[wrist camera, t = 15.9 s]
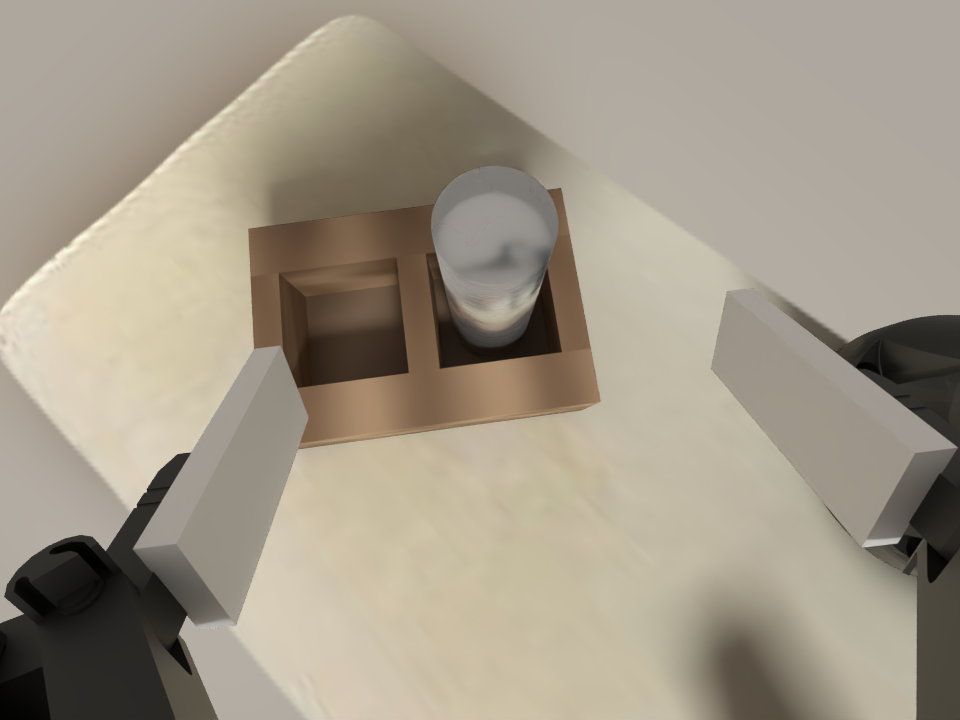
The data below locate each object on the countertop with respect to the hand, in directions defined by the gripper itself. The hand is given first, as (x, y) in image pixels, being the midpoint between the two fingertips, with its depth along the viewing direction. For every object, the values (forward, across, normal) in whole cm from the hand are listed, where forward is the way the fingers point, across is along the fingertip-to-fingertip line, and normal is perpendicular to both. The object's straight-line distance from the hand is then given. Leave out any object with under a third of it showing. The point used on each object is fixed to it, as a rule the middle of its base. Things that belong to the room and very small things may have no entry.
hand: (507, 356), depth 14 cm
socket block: (+14, -4, -7) cm, 16 cm away
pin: (+14, 0, -6) cm, 15 cm away
